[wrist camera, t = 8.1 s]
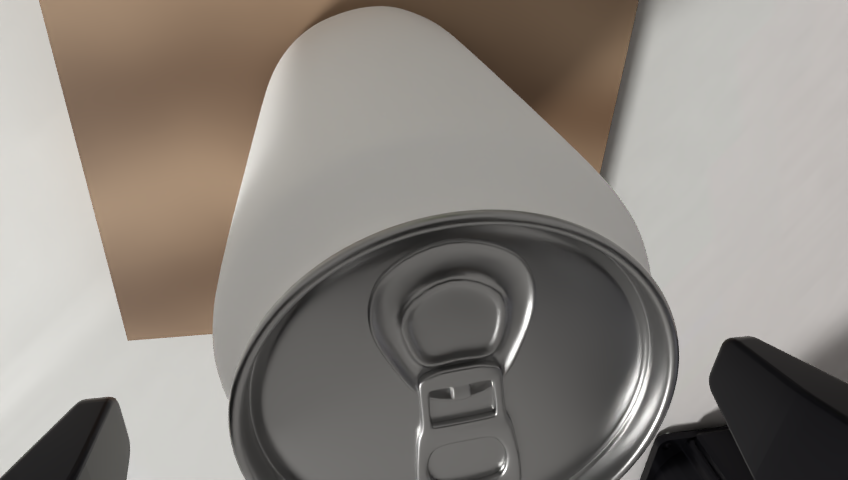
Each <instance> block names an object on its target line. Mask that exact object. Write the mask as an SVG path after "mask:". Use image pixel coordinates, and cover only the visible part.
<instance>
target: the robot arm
mask: <svg viewBox="0 0 848 480" xmlns="http://www.w3.org/2000/svg"><path fill="white" fill-rule="evenodd" d="M709 385H710V389H711V392H712V394H713V396H714V398H715V400H716V402H717V404H718V407H719V409H720V411H721V413H722V415H723V417H724V419H725V421H726V423H727V425H728V426H726V427H718V428H710V429H702V430H695V431H687V432H679V433H671V434H664V435H661V436H659V437H658V438H657V439H656V440H655V442H654V444H653V447H652V450H651V452H650V455H649V458H648V460H647V463H646V466H645V468H644V471H643V474H642V477H641V479H640V480H848V384H847V383H845V382H843V381H841V380H839V379H837V378H835V377H833V376H831V375H829V374H827V373H825V372H823V371H821V370H819V369H817V368H815V367H813V366H811V365H809V364H807V363H805V362H803V361H801V360H799V359H797V358H795V357H793V356H791V355H789V354H787V353H785V352H783V351H781V350H779V349H777V348H775V347H773V346H771V345H769V344H767V343H765V342H763V341H761V340H759V339H757V338H755V337H750V336H745V337H734V338H729V339H727V340H725V341H724V342H723V344H722V346H721V348H720V350H719V353H718V355H717V358H716V360H715V363H714V365H713V368H712V370H711V373H710V376H709ZM129 457H130V442H129V437H128V433H127V430H126V427H125V423H124V420H123V416H122V413H121V409H120V406H119V403H118V402H117V400H116V399H115V398H113V397H103V398H92V399H84V400H81V401H80V402H78V403H77V404H76V405H74V406H73V407H72V408H71V409H70V410H69V411H68V412H67V413H66V414H65V415H64V416H63V417H62V418H61V419H60V420H59V421H58V422H57V423H56V424H55V425H54V426H53V427H52V428H51V429H50V430H49V431H48V432H47V433H46V434H45V435H44V436H43V437H42V438H41V439H40V440H39V441H38V442H37V443H36V444H35V445H34V446H32V447H31V448H30V449H29V450H28V451H27V452H26V453H25V454H24V455H23V456H22V457H21V458H20V459H19V460H18V461H17V462H16V463H15V464H14V465H13V466H12V467H11V468H10V469H9V470H8V471H7V472H6V473H5V474H4V475H3V476H2V477H1V478H0V480H126V479H127V472H128V465H129Z"/></svg>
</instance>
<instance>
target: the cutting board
mask: <svg viewBox="0 0 848 480" xmlns="http://www.w3.org/2000/svg"><path fill="white" fill-rule="evenodd" d="M39 2H40V6H41V10H42V14H43V18H44V22H45V25H46V29H47V33H48V37H49V41H50V45H51V48H52V52H53V56H54V60H55V64H56V68H57V71H58V75H59V79H60V83H61V87H62V90H63V94H64V98H65V102H66V106H67V110H68V113H69V117H70V121H71V125H72V129H73V133H74V136H75V140H76V144H77V148H78V152H79V156H80V159H81V163H82V167H83V171H84V175H85V178H86V182H87V186H88V190H89V194H90V198H91V201H92V205H93V209H94V213H95V217H96V221H97V224H98V228H99V232H100V236H101V240H102V243H103V247H104V251H105V255H106V259H107V263H108V266H109V270H110V274H111V278H112V282H113V286H114V289H115V293H116V297H117V301H118V305H119V309H120V312H121V316H122V320H123V324H124V328H125V331H126V335H127V339H128V341H129V340H142V339H154V338H167V337H179V336H192V335H204V334H213V312H214V302H215V295H216V290H217V285H218V280H219V275H220V270H221V265H222V260H223V256H224V252H225V248H226V244H227V239H228V235H229V231H230V227H231V223H232V219H233V215H234V211H235V207H236V203H237V199H238V195H239V191H240V187H241V184H242V180H243V176H244V172H245V168H246V164H247V160H248V156H249V152H250V149H251V145H252V141H253V137H254V133H255V130H256V126H257V122H258V118H259V115H260V111H261V107H262V104H263V100H264V97H265V93H266V90H267V87H268V84H269V81H270V79H271V76H272V74H273V72H274V70H275V68H276V66H277V64H278V62H279V61H280V59H281V58H282V56H283V55H284V53H285V52H286V51H287V49H288V48H289V47H290V46H291V45H292V44H293V42H294V41H295V40H296V39H297V38H298V37H300V36H301V35H302V34H303V33H304V32H305V31H307V30H308V29H309V28H311V27H312V26H314V25H316V24H317V23H319V22H321V21H323V20H325V19H327V18H330V17H332V16H335V15H337V14H340V13H343V12H346V11H350V10H353V9H358V8H364V7H372V6H389V7H396V8H400V9H404V10H407V11H410V12H413V13H415V14H418V15H420V16H422V17H425V18H427V19H429V20H431V21H432V22H434V23H436V24H437V25H439V26H441V27H442V28H443V29H445V30H446V31H447V32H449V33H450V34H451V35H452V36H454V37H455V38H456V39H457V40H458V41H459V42H461V43H462V44H463V45H464V46H465V47H466V48H467V49H468V50H469V51H471V52H472V53H473V54H474V55H475V56H476V57H477V58H478V59H479V60H480V61H482V62H483V63H484V64H485V65H486V66H487V67H488V68H489V69H490V70H491V71H492V72H493V73H495V74H496V75H497V76H498V77H499V78H500V79H501V80H502V81H503V82H504V83H505V84H506V85H507V86H509V87H510V88H511V89H512V90H513V91H514V92H515V93H516V94H517V95H518V96H519V97H520V98H521V99H523V100H524V101H525V102H526V103H527V104H528V105H529V106H530V107H531V108H532V109H533V110H534V111H535V112H536V113H537V114H538V115H540V116H541V117H542V118H543V119H544V120H545V121H546V122H547V123H548V124H549V125H550V126H551V127H552V128H553V129H554V130H555V131H556V132H558V133H559V134H560V135H561V136H562V137H563V138H564V139H565V140H566V141H567V142H568V143H569V144H570V145H571V146H572V147H573V148H574V149H575V150H576V151H577V152H578V153H579V154H580V155H581V156H582V157H583V158H584V159H585V160H586V161H587V162H588V163H589V164H590V165H591V166H592V167H593V168H594V169H595V170H596V171H597V172H598V173H599V174H600V170H601V166H602V162H603V157H604V153H605V148H606V144H607V139H608V135H609V131H610V126H611V122H612V117H613V113H614V108H615V104H616V99H617V95H618V91H619V86H620V82H621V77H622V73H623V68H624V64H625V60H626V55H627V51H628V46H629V42H630V37H631V33H632V29H633V24H634V20H635V15H636V11H637V6H638V2H639V0H39Z"/></svg>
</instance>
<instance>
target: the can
mask: <svg viewBox="0 0 848 480" xmlns="http://www.w3.org/2000/svg"><path fill="white" fill-rule="evenodd" d="M213 349H214V356H215V362H216V366H217V370H218V374H219V377H220V380H221V383H222V386H223V389H224V391H225V394H226V396H227V398H228V400H229V411H228V420H229V432H230V439H231V444H232V448H233V452H234V455H235V458H236V461H237V463H238V465H239V468H240V470H241V472H242V474H243V476H244V478H245V479H246V480H619V479H621V478H622V477H623V476H624V475H625V474H626V473H627V471H628V470H629V469H630V468H631V467H632V466H633V465H634V464H635V463H636V461H637V460H638V459H639V458H640V456H641V455H642V454H643V453H644V451H645V450H646V448H647V447H648V446H649V444H650V443H651V441H652V440H653V438H654V436H655V435H656V433H657V431H658V430H659V428H660V426H661V424H662V422H663V420H664V418H665V416H666V413H667V411H668V408H669V406H670V403H671V400H672V397H673V394H674V390H675V386H676V381H677V375H678V367H679V346H678V337H677V331H676V326H675V322H674V319H673V316H672V313H671V310H670V308H669V305H668V303H667V301H666V299H665V297H664V295H663V293H662V291H661V290H660V288H659V286H658V285H657V284H656V282H655V281H654V279H653V278H652V277H651V273H650V267H649V262H648V258H647V254H646V250H645V247H644V243H643V240H642V238H641V235H640V233H639V230H638V228H637V226H636V224H635V222H634V220H633V218H632V216H631V215H630V213H629V211H628V210H627V208H626V207H625V205H624V204H623V202H622V201H621V200H620V198H619V197H618V195H617V194H616V193H615V191H614V190H613V189H612V188H611V186H610V185H609V184H608V183H607V182H606V181H605V179H604V178H603V177H602V176H601V175H600V174H599V173H598V172H597V171H596V170H595V169H594V168H593V167H592V166H591V165H590V164H589V163H588V162H587V161H586V160H585V159H584V158H583V157H582V156H581V155H580V154H579V153H578V152H577V151H576V150H575V149H574V148H573V147H572V146H571V145H570V144H569V143H568V142H567V141H566V140H565V139H564V138H563V137H562V136H561V135H560V134H559V133H558V132H556V131H555V130H554V129H553V128H552V127H551V126H550V125H549V124H548V123H547V122H546V121H545V120H544V119H543V118H542V117H541V116H540V115H538V114H537V113H536V112H535V111H534V110H533V109H532V108H531V107H530V106H529V105H528V104H527V103H526V102H525V101H524V100H523V99H521V98H520V97H519V96H518V95H517V94H516V93H515V92H514V91H513V90H512V89H511V88H510V87H509V86H507V85H506V84H505V83H504V82H503V81H502V80H501V79H500V78H499V77H498V76H497V75H496V74H495V73H493V72H492V71H491V70H490V69H489V68H488V67H487V66H486V65H485V64H484V63H483V62H482V61H480V60H479V59H478V58H477V57H476V56H475V55H474V54H473V53H472V52H471V51H469V50H468V49H467V48H466V47H465V46H464V45H463V44H462V43H461V42H459V41H458V40H457V39H456V38H455V37H454V36H452V35H451V34H450V33H449V32H447V31H446V30H445V29H443V28H442V27H441V26H439V25H437V24H436V23H434V22H432V21H431V20H429V19H427V18H425V17H422V16H420V15H418V14H415V13H413V12H410V11H407V10H404V9H400V8H396V7H389V6H372V7H364V8H358V9H353V10H350V11H346V12H343V13H340V14H337V15H335V16H332V17H330V18H327V19H325V20H323V21H321V22H319V23H317V24H316V25H314V26H312V27H311V28H309V29H308V30H307V31H305V32H304V33H303V34H302V35H301V36H300V37H298V38H297V39H296V40H295V41H294V42H293V44H292V45H291V46H290V47H289V48H288V49H287V51H286V52H285V53H284V55H283V56H282V58H281V59H280V61H279V62H278V64H277V66H276V68H275V70H274V72H273V74H272V76H271V79H270V81H269V84H268V87H267V90H266V93H265V97H264V100H263V104H262V107H261V111H260V115H259V118H258V122H257V126H256V130H255V133H254V137H253V141H252V145H251V149H250V152H249V156H248V160H247V164H246V168H245V172H244V176H243V180H242V184H241V187H240V191H239V195H238V199H237V203H236V207H235V211H234V215H233V219H232V223H231V227H230V231H229V235H228V239H227V244H226V248H225V252H224V256H223V260H222V265H221V270H220V275H219V280H218V285H217V290H216V295H215V302H214V312H213Z"/></svg>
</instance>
